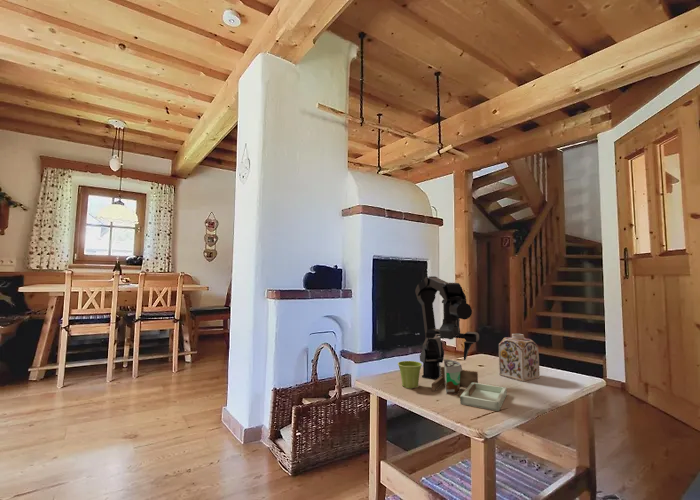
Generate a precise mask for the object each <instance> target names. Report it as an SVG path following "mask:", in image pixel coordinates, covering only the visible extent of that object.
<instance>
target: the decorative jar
mask: <svg viewBox="0 0 700 500" xmlns="http://www.w3.org/2000/svg"><path fill="white" fill-rule="evenodd" d="M539 352H540V351H539V346H538V344H537V343H536V341H534V340H532V339H531V338H528V337H527V338H526V337H525V335H524V334H522V333H511V336H508V337H506V336H505V337H503V339H502V340H501V341H500V342H499V343H498V369H499V370H498V371H499V375H500V376H502V377H505V378H508V379H512V380H515V381H520V382H523V383H525V382H529V381H533V380H536V379H539V378H540V372H541V371H540V355H539Z"/></svg>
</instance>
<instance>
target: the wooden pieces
mask: <svg viewBox="0 0 700 500" xmlns="http://www.w3.org/2000/svg"><path fill="white" fill-rule="evenodd" d="M478 377H479V372H478V371H474V370H469V369H467V370H466V369H462V371H460V387H466V388H468V386H469V385H470V384H471V383H472V382H474V383H479V380H478V379H479V378H478ZM443 384H445V372H444V366H441V376H440V377H439V378H438V379H435V380H434V382H432V383H431V392H436V391H437V390H438V389H439V388H440V387H442V385H443ZM475 389H476V384H474V385H473V386H472V387H471V388H470V389H469V396H471V395H472V393H473V392H474V391H475Z"/></svg>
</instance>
